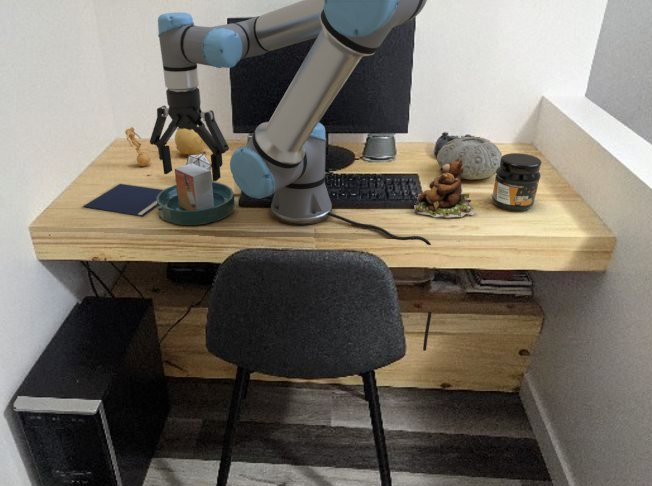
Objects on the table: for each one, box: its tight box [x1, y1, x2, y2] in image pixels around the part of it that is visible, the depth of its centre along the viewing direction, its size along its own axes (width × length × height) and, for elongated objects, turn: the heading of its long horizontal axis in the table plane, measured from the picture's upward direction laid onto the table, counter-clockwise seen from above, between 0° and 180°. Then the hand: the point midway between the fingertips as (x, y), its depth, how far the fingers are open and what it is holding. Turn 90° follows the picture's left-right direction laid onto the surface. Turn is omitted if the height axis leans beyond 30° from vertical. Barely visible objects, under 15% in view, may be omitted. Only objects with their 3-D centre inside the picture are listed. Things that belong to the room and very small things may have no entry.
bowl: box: [156, 181, 236, 226], centre depth 140 cm, size 19×19×4 cm
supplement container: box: [491, 152, 542, 212], centre depth 139 cm, size 10×10×12 cm
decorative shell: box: [436, 135, 503, 180], centre depth 158 cm, size 18×18×10 cm
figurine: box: [124, 126, 151, 167], centre depth 166 cm, size 8×6×12 cm
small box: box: [174, 163, 214, 210], centre depth 138 cm, size 8×6×10 cm
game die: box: [185, 150, 212, 171], centre depth 156 cm, size 9×8×10 cm
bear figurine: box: [413, 159, 475, 219], centre depth 137 cm, size 14×15×12 cm
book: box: [82, 183, 164, 218], centre depth 147 cm, size 18×16×1 cm
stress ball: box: [174, 125, 207, 156], centre depth 174 cm, size 10×10×10 cm
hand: (192, 175), depth 136 cm, fingers open, 13 cm apart
